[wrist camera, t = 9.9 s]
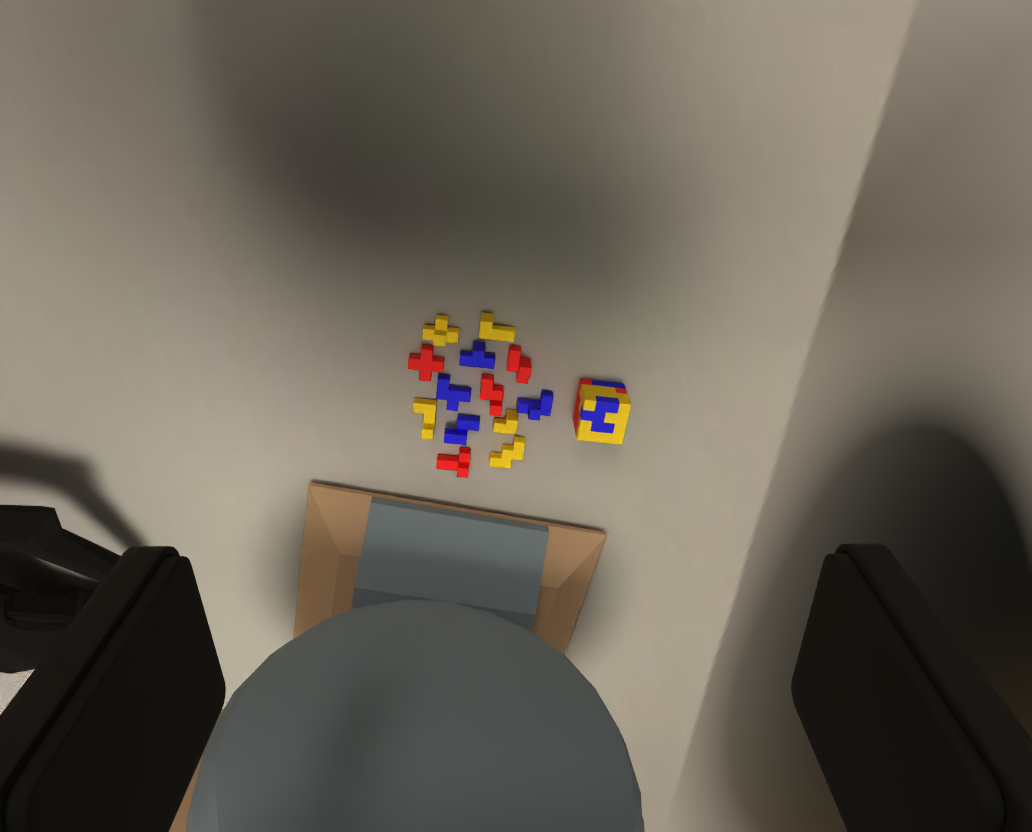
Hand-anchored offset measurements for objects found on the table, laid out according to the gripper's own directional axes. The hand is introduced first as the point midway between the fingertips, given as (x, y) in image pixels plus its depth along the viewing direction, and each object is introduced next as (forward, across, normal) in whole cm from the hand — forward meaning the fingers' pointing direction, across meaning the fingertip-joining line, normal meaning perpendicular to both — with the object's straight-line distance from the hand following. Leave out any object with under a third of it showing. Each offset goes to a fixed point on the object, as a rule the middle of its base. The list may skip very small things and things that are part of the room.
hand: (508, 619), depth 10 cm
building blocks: (+16, 0, +4) cm, 16 cm away
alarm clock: (+16, +3, +14) cm, 21 cm away
